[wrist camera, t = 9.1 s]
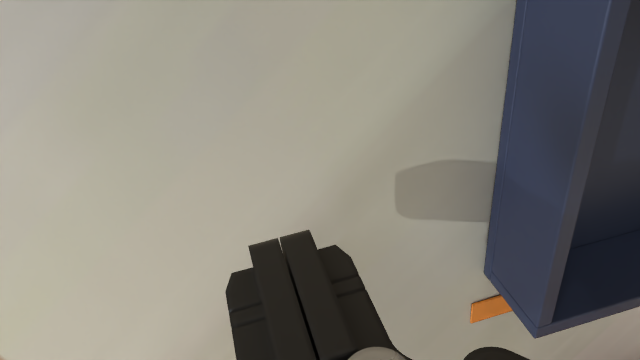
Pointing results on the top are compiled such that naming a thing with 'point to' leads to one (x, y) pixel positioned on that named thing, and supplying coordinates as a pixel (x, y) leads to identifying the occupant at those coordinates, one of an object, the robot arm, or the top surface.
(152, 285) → the top surface
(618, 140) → the dark blue tray
